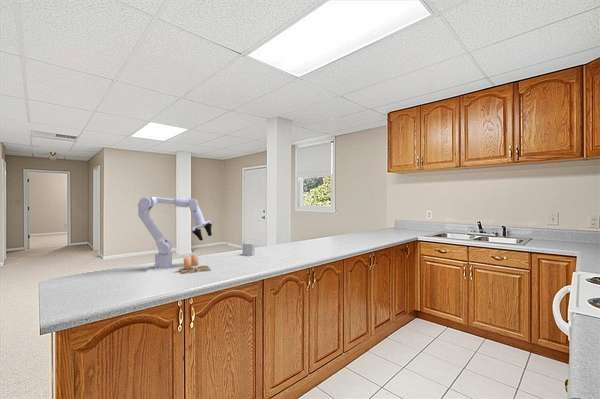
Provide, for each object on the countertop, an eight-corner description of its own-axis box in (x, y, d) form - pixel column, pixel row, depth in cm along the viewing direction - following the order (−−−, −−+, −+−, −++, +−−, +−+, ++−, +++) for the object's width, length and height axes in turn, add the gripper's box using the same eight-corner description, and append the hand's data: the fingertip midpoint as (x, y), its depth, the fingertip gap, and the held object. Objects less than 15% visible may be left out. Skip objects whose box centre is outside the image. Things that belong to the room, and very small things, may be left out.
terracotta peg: (191, 268, 169) (191, 256, 169) (190, 266, 173) (190, 255, 173) (198, 267, 171) (198, 255, 171) (197, 265, 175) (197, 254, 175)
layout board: (180, 276, 153) (180, 272, 153) (179, 270, 163) (179, 267, 163) (211, 272, 160) (211, 268, 160) (208, 267, 171) (208, 264, 171)
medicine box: (254, 254, 207) (254, 243, 207) (252, 256, 203) (251, 244, 203) (245, 254, 210) (245, 242, 210) (242, 255, 205) (242, 243, 205)
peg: (184, 271, 157) (183, 259, 157) (183, 270, 161) (183, 257, 161) (191, 271, 159) (191, 258, 159) (191, 269, 163) (190, 257, 162)
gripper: (193, 219, 166) (201, 241, 167) (210, 212, 178) (218, 232, 180) (185, 222, 169) (193, 243, 171) (203, 214, 182) (210, 234, 183)
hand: (205, 237), depth 175 cm, fingers open, 7 cm apart
